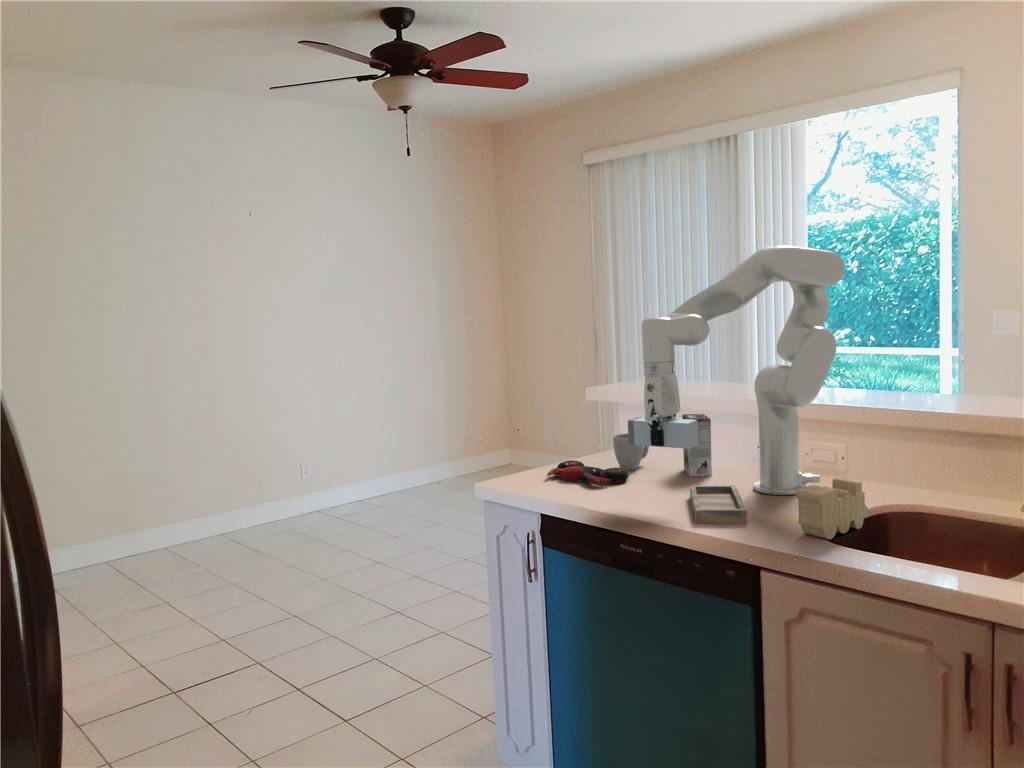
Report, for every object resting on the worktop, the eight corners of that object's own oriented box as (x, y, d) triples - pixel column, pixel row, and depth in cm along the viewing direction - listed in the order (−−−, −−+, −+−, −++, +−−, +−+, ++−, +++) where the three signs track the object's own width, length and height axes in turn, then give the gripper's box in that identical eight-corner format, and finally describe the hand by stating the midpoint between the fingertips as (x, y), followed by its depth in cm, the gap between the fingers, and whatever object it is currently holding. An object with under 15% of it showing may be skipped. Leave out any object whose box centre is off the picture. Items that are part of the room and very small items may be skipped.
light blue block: (698, 444, 187) (697, 419, 186) (689, 448, 183) (687, 423, 182) (638, 440, 197) (637, 417, 196) (628, 444, 193) (627, 420, 192)
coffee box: (683, 469, 226) (681, 414, 224) (705, 468, 225) (704, 413, 224) (689, 476, 217) (687, 419, 215) (712, 475, 216) (711, 418, 215)
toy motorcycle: (571, 473, 235) (531, 474, 225) (573, 456, 235) (532, 456, 225) (633, 489, 215) (592, 490, 205) (635, 470, 215) (594, 471, 205)
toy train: (868, 526, 165) (868, 479, 164) (819, 543, 156) (818, 494, 155) (845, 520, 170) (844, 475, 169) (795, 537, 161) (794, 489, 160)
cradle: (690, 497, 195) (690, 485, 195) (735, 497, 193) (735, 485, 193) (696, 523, 173) (695, 510, 173) (747, 523, 171) (746, 510, 171)
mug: (627, 472, 225) (626, 439, 224) (608, 468, 232) (607, 436, 231) (658, 466, 232) (657, 434, 230) (638, 461, 239) (637, 430, 238)
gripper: (656, 373, 179) (660, 451, 181) (689, 364, 192) (693, 437, 194) (627, 373, 183) (631, 449, 185) (662, 364, 196) (665, 436, 199)
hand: (663, 442), depth 190 cm, fingers closed on light blue block, 5 cm apart
